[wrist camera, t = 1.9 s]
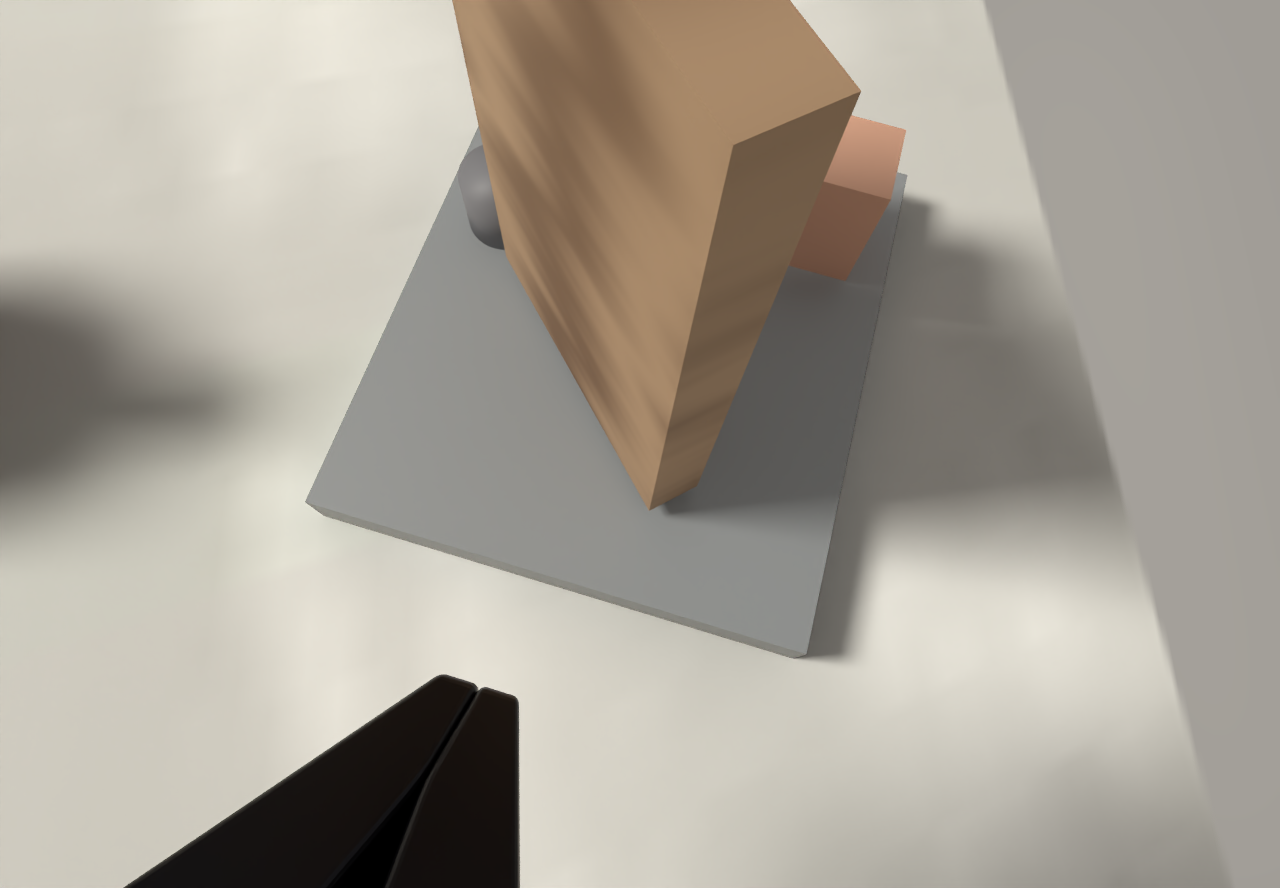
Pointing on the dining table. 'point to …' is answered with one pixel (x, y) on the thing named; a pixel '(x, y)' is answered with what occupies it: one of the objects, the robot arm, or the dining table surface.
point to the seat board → (579, 448)
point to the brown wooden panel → (653, 194)
